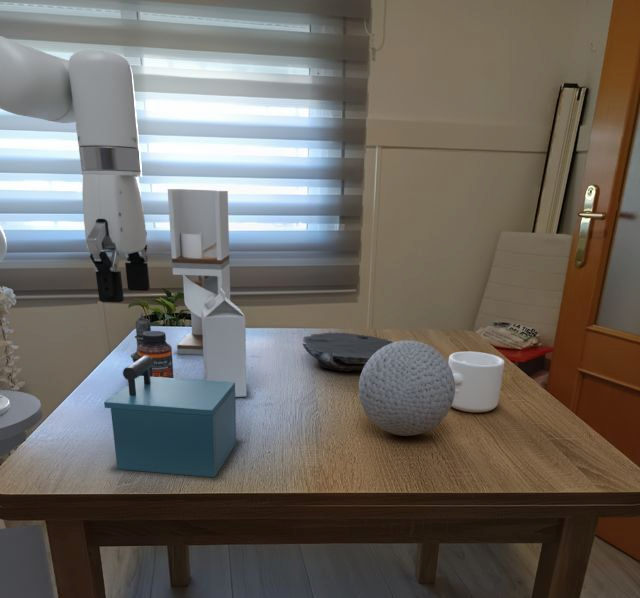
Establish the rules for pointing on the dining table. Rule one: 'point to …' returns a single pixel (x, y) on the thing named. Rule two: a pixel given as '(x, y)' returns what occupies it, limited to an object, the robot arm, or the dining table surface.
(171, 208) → the display case
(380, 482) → the dining table surface
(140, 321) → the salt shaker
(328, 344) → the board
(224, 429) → the case
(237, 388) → the milk carton
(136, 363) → the case lid
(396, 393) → the decorative ball
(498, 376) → the mug
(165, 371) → the supplement bottle
